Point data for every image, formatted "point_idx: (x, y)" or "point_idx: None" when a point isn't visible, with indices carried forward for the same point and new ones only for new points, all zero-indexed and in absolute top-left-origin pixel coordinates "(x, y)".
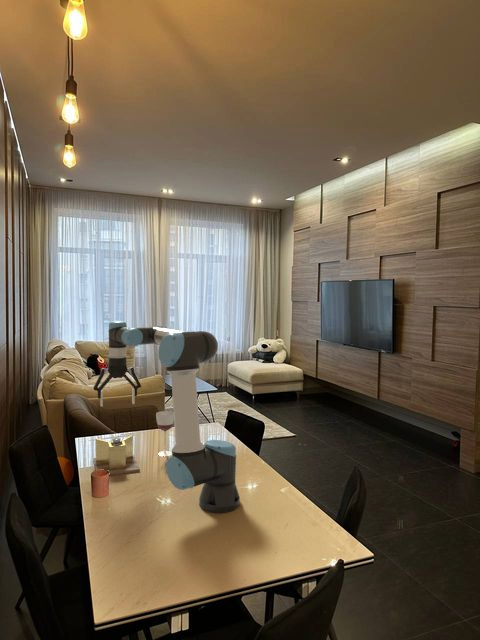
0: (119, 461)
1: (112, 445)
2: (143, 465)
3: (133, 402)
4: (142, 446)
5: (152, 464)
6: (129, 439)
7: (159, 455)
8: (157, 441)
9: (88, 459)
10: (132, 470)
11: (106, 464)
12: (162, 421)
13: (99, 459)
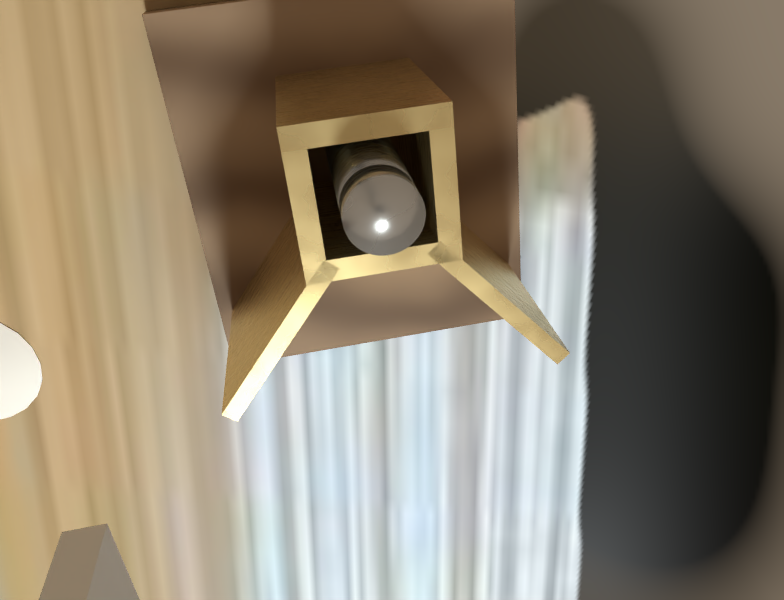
0: (331, 80)
1: None
2: (128, 150)
3: (81, 562)
4: (178, 513)
5: (48, 158)
6: (251, 357)
7: (14, 338)
8: None
9: None
10: (209, 5)
11: None
12: None
13: (487, 248)
